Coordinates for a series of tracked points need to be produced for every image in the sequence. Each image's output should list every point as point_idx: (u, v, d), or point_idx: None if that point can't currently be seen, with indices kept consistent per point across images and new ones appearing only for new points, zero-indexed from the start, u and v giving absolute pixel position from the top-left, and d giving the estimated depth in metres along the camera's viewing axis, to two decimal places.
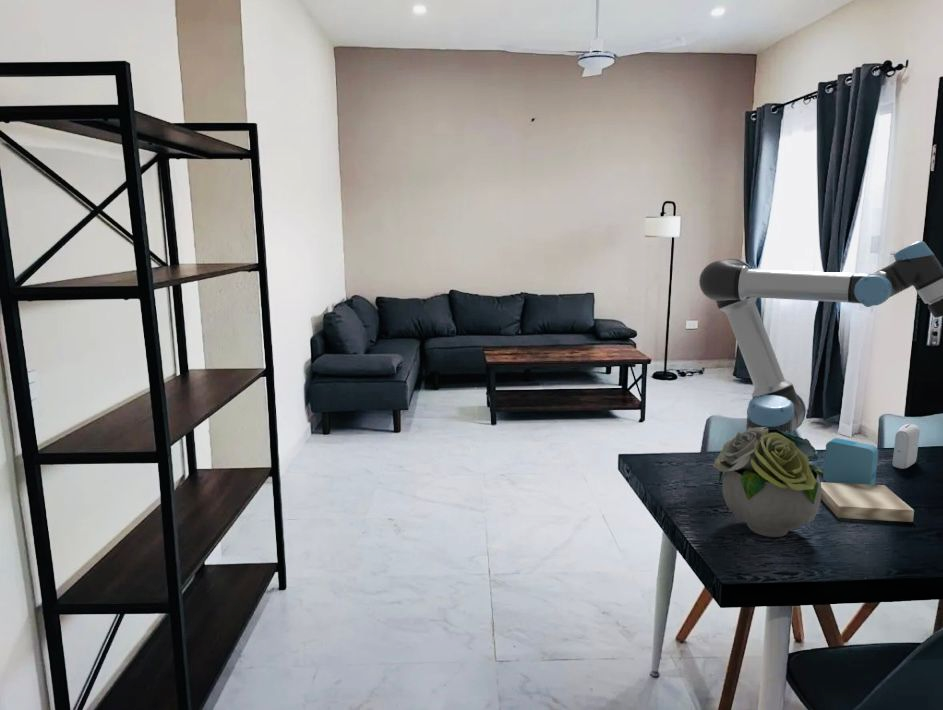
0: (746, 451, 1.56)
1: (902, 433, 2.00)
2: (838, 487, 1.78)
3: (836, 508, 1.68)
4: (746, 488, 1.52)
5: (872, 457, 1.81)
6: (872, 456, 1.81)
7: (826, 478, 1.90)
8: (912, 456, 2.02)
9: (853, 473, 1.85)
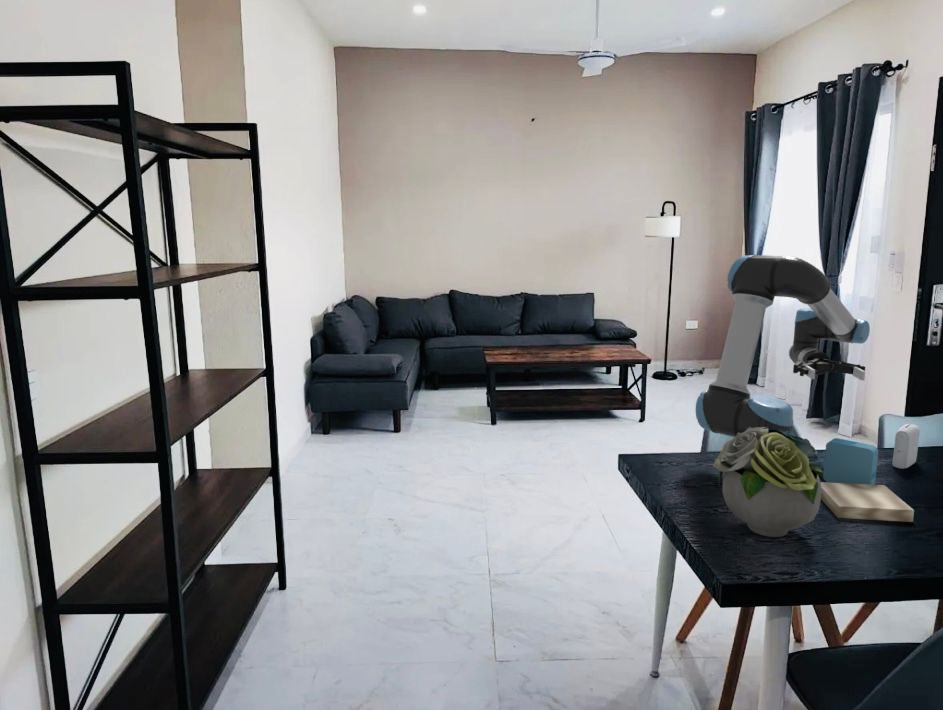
0: (746, 451, 1.56)
1: (902, 433, 2.00)
2: (838, 487, 1.78)
3: (836, 508, 1.68)
4: (746, 488, 1.52)
5: (872, 457, 1.81)
6: (872, 456, 1.81)
7: (826, 478, 1.90)
8: (912, 456, 2.02)
9: (853, 473, 1.85)
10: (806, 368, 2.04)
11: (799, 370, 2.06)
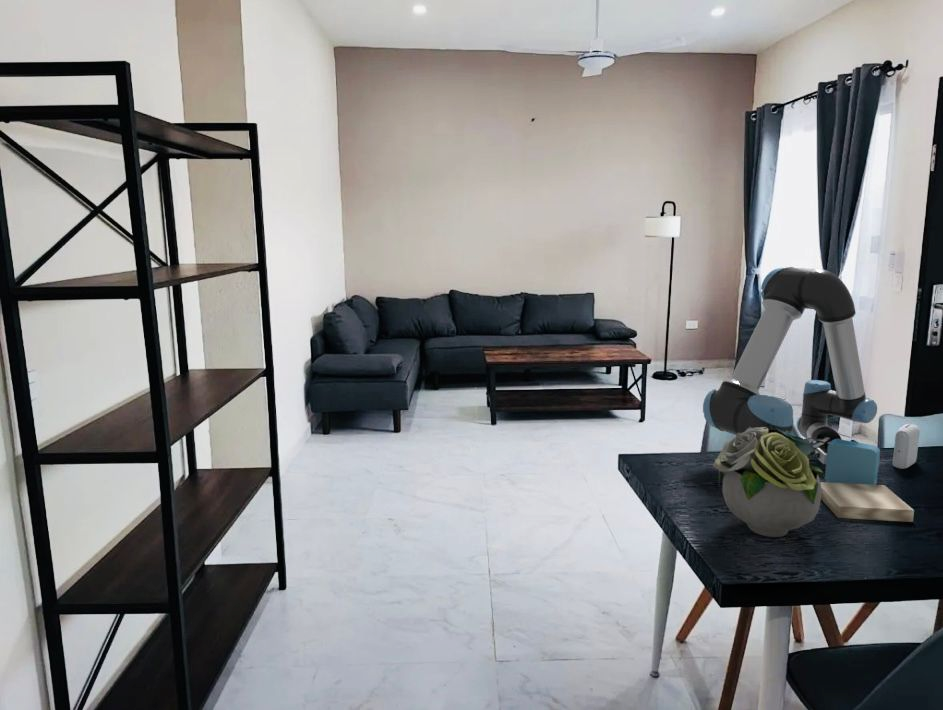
0: (746, 451, 1.56)
1: (902, 433, 2.00)
2: (838, 487, 1.78)
3: (836, 508, 1.68)
4: (746, 488, 1.52)
5: (875, 458, 1.81)
6: (875, 457, 1.80)
7: (828, 479, 1.89)
8: (912, 456, 2.02)
9: (856, 474, 1.84)
10: (817, 451, 1.95)
11: None
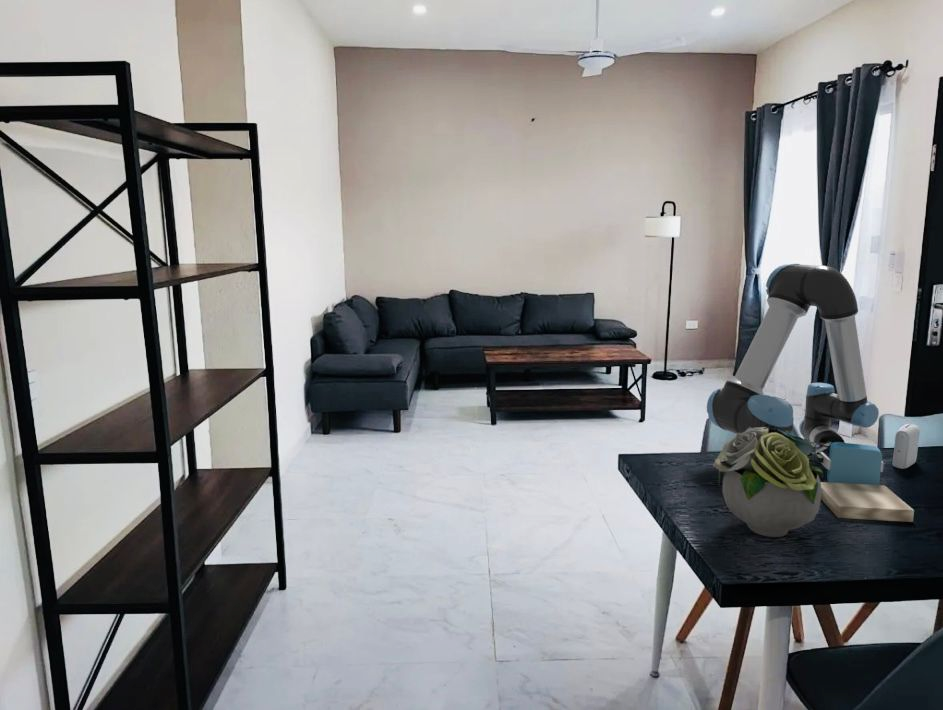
0: (746, 451, 1.56)
1: (902, 433, 2.00)
2: (838, 487, 1.78)
3: (836, 508, 1.68)
4: (746, 488, 1.52)
5: (881, 458, 1.80)
6: (881, 457, 1.80)
7: None
8: (912, 456, 2.02)
9: (861, 477, 1.83)
10: (821, 455, 1.90)
11: None
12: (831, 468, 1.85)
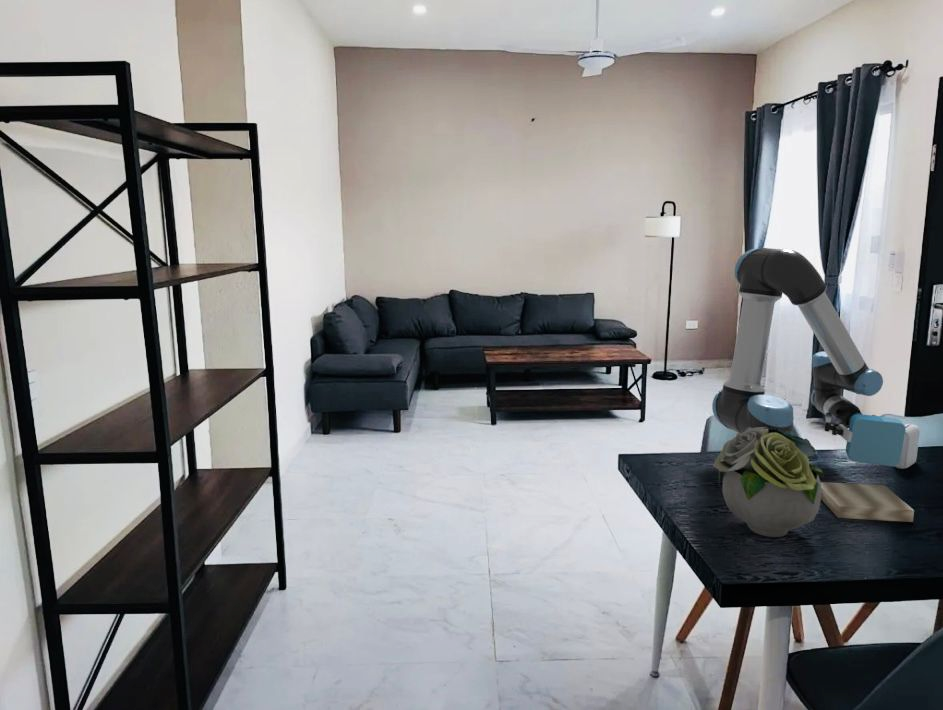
0: (746, 451, 1.56)
1: None
2: (838, 487, 1.78)
3: (836, 508, 1.68)
4: (746, 488, 1.52)
5: (904, 431, 1.74)
6: (904, 430, 1.74)
7: (852, 457, 1.80)
8: (912, 456, 2.02)
9: (882, 450, 1.77)
10: (840, 427, 1.84)
11: (832, 428, 1.85)
12: (852, 441, 1.79)
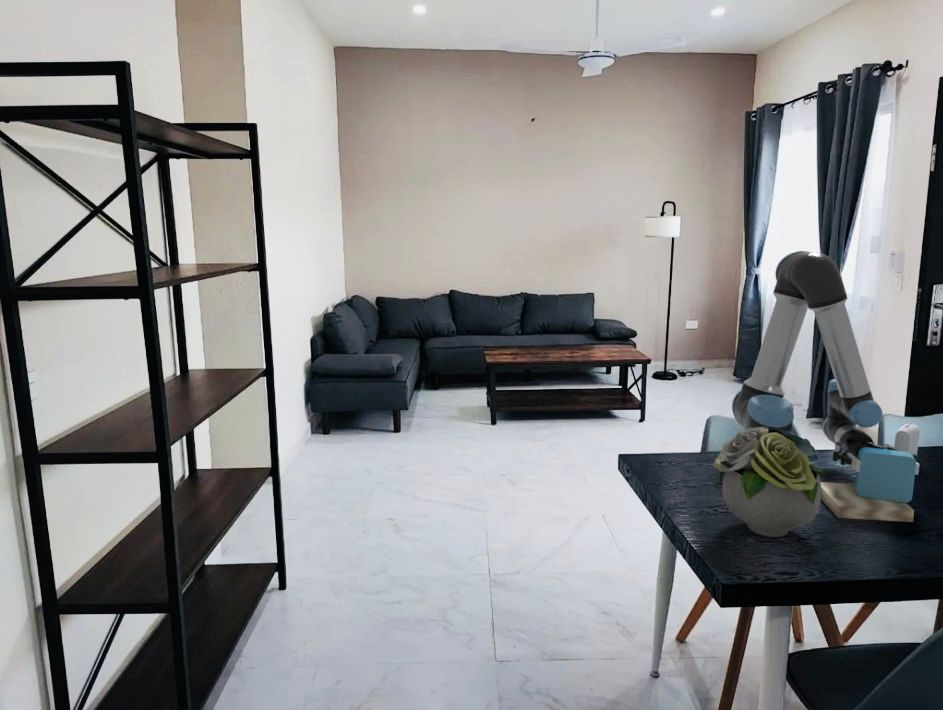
0: (746, 451, 1.56)
1: (902, 433, 2.00)
2: (838, 487, 1.78)
3: (836, 508, 1.68)
4: (746, 488, 1.52)
5: (914, 466, 1.66)
6: (915, 465, 1.66)
7: (861, 493, 1.72)
8: None
9: (893, 485, 1.68)
10: (848, 456, 1.76)
11: (840, 458, 1.77)
12: (860, 475, 1.71)
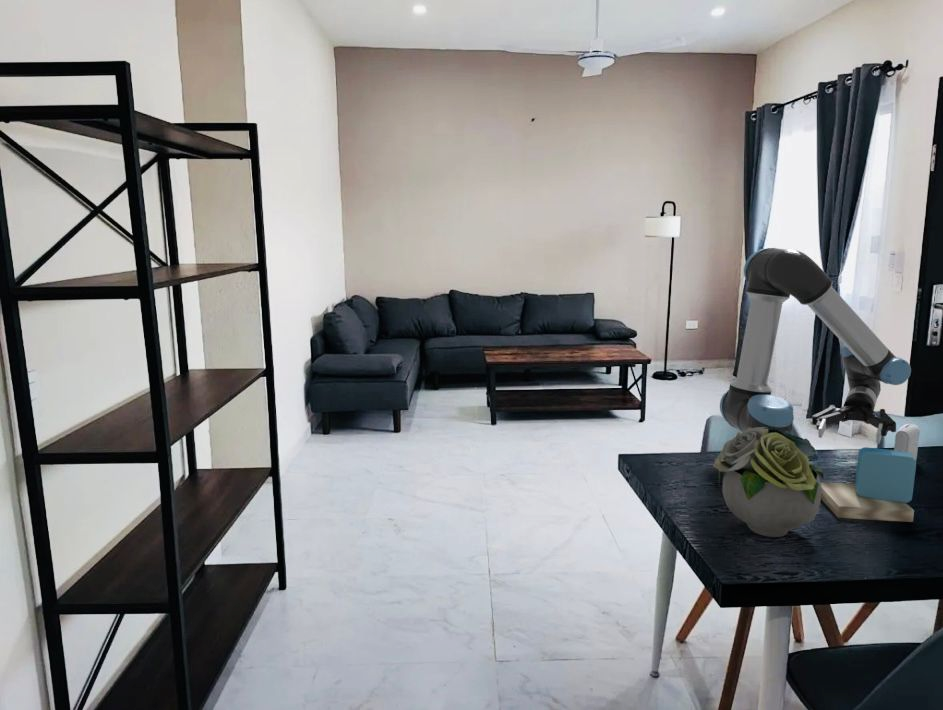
0: (746, 451, 1.56)
1: (902, 433, 2.00)
2: (838, 487, 1.78)
3: (836, 508, 1.68)
4: (746, 488, 1.52)
5: (915, 466, 1.66)
6: (915, 465, 1.66)
7: (861, 493, 1.72)
8: None
9: (893, 485, 1.68)
10: (822, 422, 1.89)
11: (817, 422, 1.91)
12: (860, 475, 1.71)
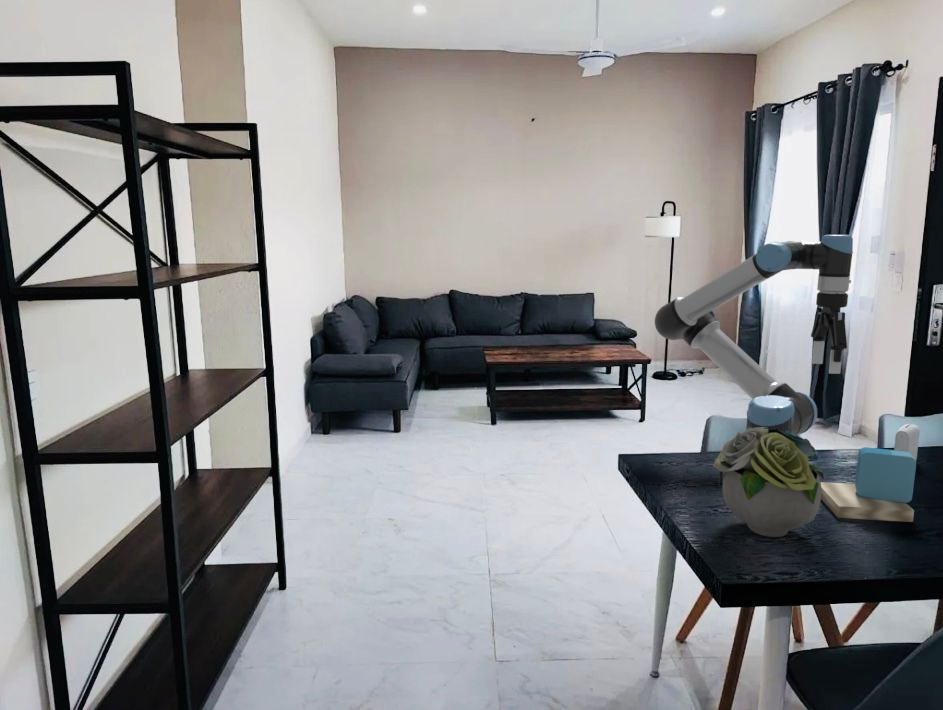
0: (746, 451, 1.56)
1: (902, 433, 2.00)
2: (838, 487, 1.78)
3: (836, 508, 1.68)
4: (746, 488, 1.52)
5: (915, 466, 1.66)
6: (915, 465, 1.66)
7: (861, 493, 1.72)
8: None
9: (893, 485, 1.68)
10: None
11: None
12: (860, 475, 1.71)
